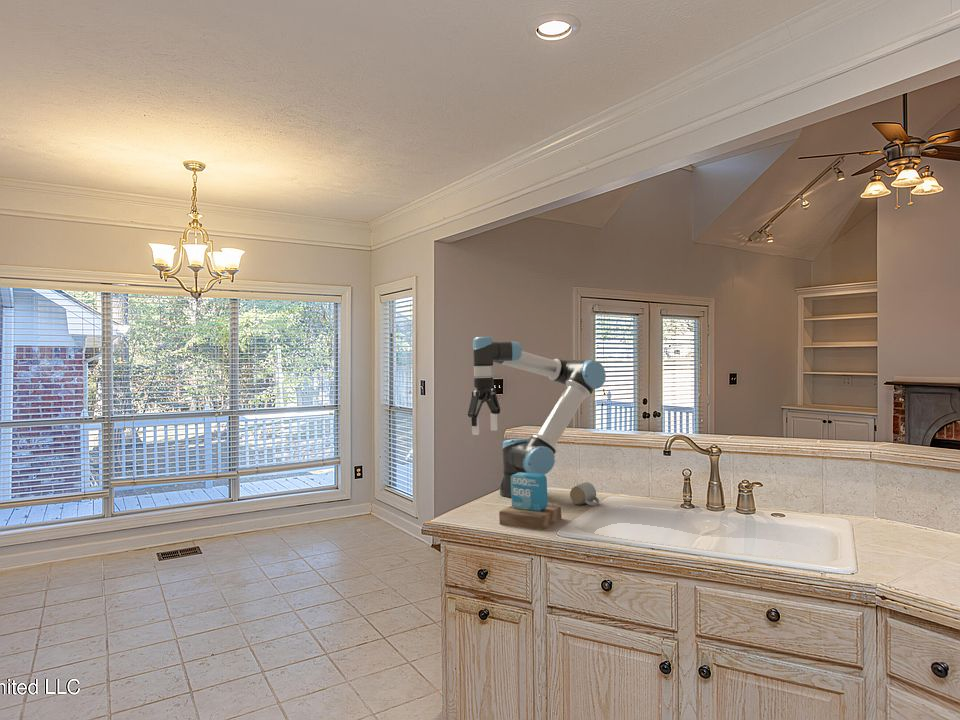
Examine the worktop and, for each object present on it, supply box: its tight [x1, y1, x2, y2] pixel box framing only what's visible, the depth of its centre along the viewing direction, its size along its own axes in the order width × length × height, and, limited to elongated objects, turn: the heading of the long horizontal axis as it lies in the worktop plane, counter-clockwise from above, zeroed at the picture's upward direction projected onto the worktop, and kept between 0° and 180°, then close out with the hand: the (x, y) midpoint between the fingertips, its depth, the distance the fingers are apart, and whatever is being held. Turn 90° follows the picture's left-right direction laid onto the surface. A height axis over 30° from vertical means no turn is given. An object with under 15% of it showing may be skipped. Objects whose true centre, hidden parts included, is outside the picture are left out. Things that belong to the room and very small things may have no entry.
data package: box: [510, 472, 549, 511], centre depth 212 cm, size 12×4×12 cm, turn 58°
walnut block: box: [498, 504, 562, 531], centre depth 212 cm, size 16×16×5 cm
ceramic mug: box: [569, 481, 600, 507], centre depth 235 cm, size 11×8×8 cm
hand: (485, 432), depth 233 cm, fingers open, 13 cm apart
